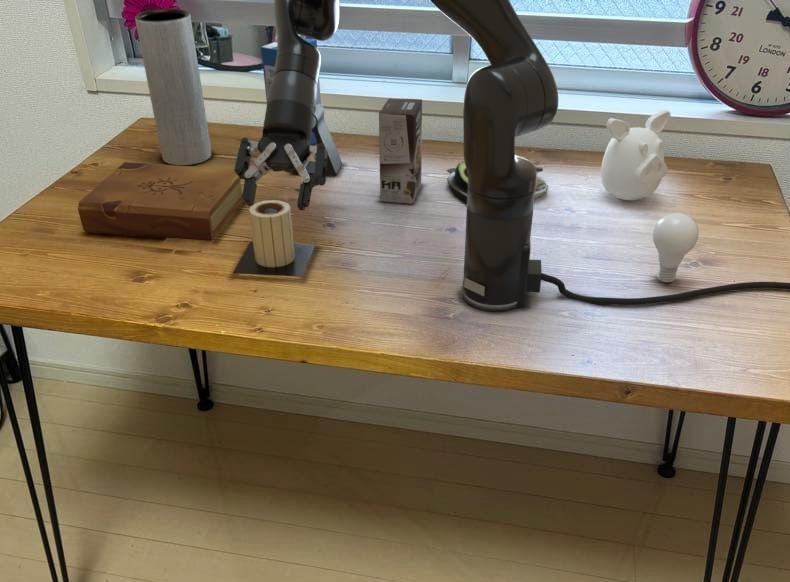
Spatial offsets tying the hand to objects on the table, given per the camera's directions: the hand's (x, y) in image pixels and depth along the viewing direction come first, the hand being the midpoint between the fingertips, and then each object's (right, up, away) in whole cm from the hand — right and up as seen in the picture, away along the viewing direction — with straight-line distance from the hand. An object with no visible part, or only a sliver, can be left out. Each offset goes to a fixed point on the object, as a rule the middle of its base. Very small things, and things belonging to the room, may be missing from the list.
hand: (274, 206), depth 127 cm
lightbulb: (+60, -12, -2) cm, 62 cm away
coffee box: (+20, +8, +25) cm, 33 cm away
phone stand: (+3, +16, +34) cm, 38 cm away
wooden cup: (0, -8, +3) cm, 8 cm away
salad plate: (+37, +9, +25) cm, 46 cm away
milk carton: (-2, +25, +46) cm, 52 cm away
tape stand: (0, -8, +4) cm, 9 cm away
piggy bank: (+62, +7, +22) cm, 66 cm away
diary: (-21, +2, +18) cm, 28 cm away
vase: (-24, +20, +40) cm, 51 cm away
